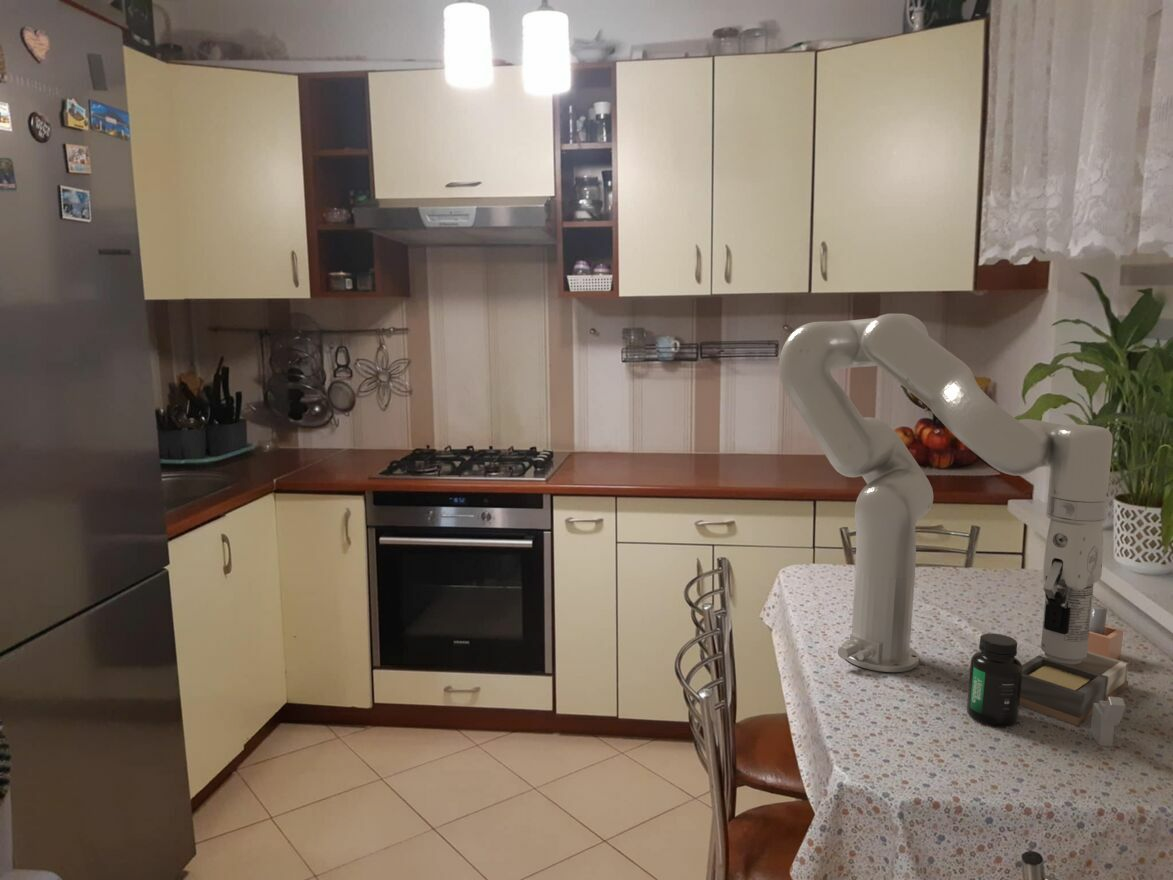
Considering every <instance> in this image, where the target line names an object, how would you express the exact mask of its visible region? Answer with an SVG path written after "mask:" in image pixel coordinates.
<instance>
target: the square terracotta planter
mask: <svg viewBox="0 0 1173 880" xmlns="http://www.w3.org/2000/svg"><path fill="white" fill-rule="evenodd" d="M1107 614H1108V609H1107V608H1106V607H1105V606H1101V605H1092V606H1091V616H1090V627H1089V637H1088V648H1087V651H1089V652H1093V653H1096V654H1100V655H1103V656H1107V657H1110V658H1114V659H1117V660H1120V659H1121V655H1122V648H1123V647H1122V646H1123V637H1124V629H1121V628H1117V627H1114V626H1113V627H1112V626H1109V625H1106V621H1107Z"/></svg>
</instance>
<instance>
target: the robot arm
mask: <svg viewBox="0 0 1173 880" xmlns="http://www.w3.org/2000/svg"><path fill="white" fill-rule="evenodd" d="M780 352H781V353H780V355H779V359H778V360H779V363H778V372H779V378H780V381H781V382H780V383H781V385H782V387H783V389H784V391H785V393H786V396H787V397H788V399H789V400H790V402H791V404H792V405H793V406H794V408H795V410H796V411H797V412H798V414H799V416H800V417H801V418H802V419H803V422H804V423H805V425H806V426H807V428H808V430H809V432H810V433H811V435H812V436H813V438H814V439H815V442H817V444H818V445H819V448H820V449H821V450H822V452H823V453H824V456H825V457H826V458H827V460H828V462H829V463H830V465H831V467H833V469H834V470H835V471H836V472H837V473H839V474H840V475H842V476H843V477H847V478H858V477H862V478H863V480H864V482H865V483H866V485H865V486H863V488H862V489H861V491H860V492H859V494H858V496H857V498H856V502H855V506H854V521H855V522H854V523H855V524H854V525H855V535H856V542H855V543H856V544H855V546H856V548H855V567H854V568H855V573H854V587H853V588H854V589H853V590H854V591H853V604H852V621H851V622H852V624H851V633H850V634H849V639H848V640H845V641H844V642H843V643H842V644H841V647H839V648H838V649H837V655H838V657H840V659H843V660H846V661H847V662H849V663H851V664H853V665H855V666H857V667H860V668H862V669H866V670H869V671H874V672H875V671H876V672H883V673H903V672H908V671H911V670H913V669H915V668H917V667H918V665H919V660H920V656H919V654H918V653H917V651H915V649H914V648H912V647H911V638H912V637H911V636H912V635H911V634H912V625H913V624H912V622H913V608H914V597H915V596H914V595H915V582H916V581H915V580H916V566H917V565H916V563H917V545H916V544H917V541H916V526H917V525H916V524H917V523H918V522H919V521H920V520H922V519H923V518H924V517H925V516H926V515H927V514H928V513H929V512H930V510H931V508H932V507H933V503H934V491H933V490H934V489H933V487H932V485H931V483H930V480H929V479H928V478H927V475H926V474H925V472H924V471H923V469H922V468H921V467H920V465H919V463H918V462H917V461H916V459H915V457H914V456H913V454H912V453H911V452H910V451H909V449H908V447H907V445H906V444H905V442H904V441H903V440H902V437H900V435H899V434H898V433H897V432H896V430H895V429H894V428H892V426H891V425H889V424H888V423H887V422H886V421H884V420H882V419H879V418H875V417H869V416H868V417H867V416H865V417H863V415H862V414H861V413H860V411H859V410H858V409H857V407H856V405H855V404H854V403H853V402H852V399H851V398H850V396H849V395H848V393H847V392H846V391H845V390H844V389H843V387H842V386H841V385H840V384H839V383H838V382H837V381H836V380H835V378H834V377H833V375H832V372H831V371H833V370H834V371H835V370H842V369H853V368H865V367H866V368H867V367H878V368H880V369H881V370H882V371H883V372H885V373H886V374H887V375H889V377H891V378H892V379H893V380H894V381H895V382H897V383H898V384H900V385H901V386H903V388H904V389H906V390H907V391H909V392H910V393H911V394H912V395H913V396H915V397H916V399H918V400H920V401H921V402H922V403H923V404H924V405H926V406H927V407H928V408H929V409H930V411H931V412H932V413H933V414H934V416H935V417H936V418H937V419H938V420H939V421H940V422H941V423H942V424H943V425H944V426H945V427H946V429H947V430H948V431H949V432H950V433H952V435H953V436H954V437H956V439H957V440H958V441H960V442H961V443H962V444H963V445H964V446H965V447H967V448H968V449H969V450H971V451H972V452H973V453H974V454H976V455H977V456H978V457H979V458H981V459H982V460H983V461H984V462H986V463H987V464H988V465H990V466H991V467H993V469H996V471H999V472H1001V473H1004V474H1007V475H1010V476H1024V475H1028V474H1030V473H1032V472H1034V471H1035V470H1036V469H1039V468H1043V467H1044V468H1047V467H1049V481H1048V490H1047V491H1048V492H1047V493H1048V494H1047V500H1046V501H1047V502H1046V503H1047V504H1046V517H1047V519H1050V521H1049V525H1048V530H1047V536H1046V537H1047V538H1046V542H1045V549H1044V557H1043V566H1042V567H1043V568H1042V580H1043V582H1044V584H1043V590H1044V594H1045V595H1044V596H1046V599H1045V598H1044V605H1045V604H1046V608H1045V620H1044V628H1045V629H1046V630H1050V631H1053V632H1057V633H1061V634H1067V633H1068V630H1069V620H1070V609H1071V608H1068V604H1069V599H1070V595H1071V591H1072V590H1073V591H1079V590H1082V589H1084V588H1086V587H1087V580H1088V577H1089V576H1090V575H1091V574H1094V584H1095V583H1097V582H1098V581H1099V580H1100V579H1101V578H1102V572H1103V571H1102V570H1103V557H1104V555H1103V553H1104V552H1103V551H1104V526H1103V524H1104V523H1106V515H1107V505H1108V496H1109V494H1108V493H1109V485H1110V474H1111V463H1112V455H1113V453H1112V452H1113V440H1114V439H1113V438H1114V437H1113V435H1112V432H1111V431H1110V429H1108V428H1106V427H1103V426H1098V425H1089V424H1060V423H1053V422H1049V421H1045V420H1038V419H1032V418H1023V419H1016V417H1014V416H1012V415H1011V414H1010V413H1009V412H1008V411H1006V410H1005V409H1003V407H1001V406H1000V405H999V404H997V403H996V402H995V401H993V399H992V398H990V396H989V395H987V393H985V391H983V389H982V388H981V387H980V385H979V384H978V382H977V380H976V378H975V376H974V374H973V373H974V372H973V371H972V370H971V368H970V367H969V366H968V365H967V364H966V363H965V362H964V361H963V360H961V359H960V358H958V357H957V356H956V355H954V354H953V353H952V352H950V351H949V350H948V349H946V348H945V347H944V346H942V345H941V344H940V343H939V342H937V341H936V340H934V339H933V338H932V337H930V335H929V332H928V330H927V327H926V325H925V324H924V323H923V322H922V321H921V320H920V319H919V318H917V317H916V316H914V315H911V314H909V313H885V314H882V315H879V316H877V317H873V318H862V319H850V320H840V321H838V320H837V321H836V320H835V321H832V320H831V321H812V322H808V323H805V324H803V325H801V326H799V327H797V328H795V330H794V331H792V333H790V335H789V336H788V338H787V339H786V340H785V342H784V344H783V347H782V349H781V351H780ZM1059 580H1060V581H1064V582H1066V585H1067V586H1062V585H1058V582H1059ZM1058 589H1059V590H1064V595H1063V597H1062V595H1061V593H1060V592H1058V591H1057V590H1058Z"/></svg>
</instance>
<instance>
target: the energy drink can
mask: <svg viewBox="0 0 1173 880" xmlns="http://www.w3.org/2000/svg"><path fill="white" fill-rule="evenodd" d="M1094 584H1095V583H1094V574H1091V575H1090V576H1089V577H1088V580H1087V587H1086V588H1084V589H1082V590H1079V591H1073V590H1072V591H1071V595H1070V599H1069V604H1068V608H1071V609H1070V620H1069V630H1068V633H1067V634H1061V633H1057V632H1053V631H1050V630H1046V629H1045V628H1044V620H1045V608H1046V604H1045V603H1044V609H1043V618H1042V619H1043V621H1042V630H1041V631H1042V633H1041V644H1040V649H1041V650H1042V652H1044V656H1046V657H1047V658H1049V659H1051V660H1053V661H1056V662H1060V663H1065V664H1078V663H1081V662H1082V659H1083V658H1085V657H1086V656H1087V648H1088V637H1089V627H1090V616H1091V606H1093V605H1092V604H1093V594H1094V593H1093V592H1094ZM1058 585H1062V586H1067V585H1066V582H1064V581H1060V580H1059V582H1058ZM1057 591H1058V592H1060V593H1061V595H1062V597H1063V595H1064V590H1059V589H1058V590H1057ZM1044 596H1045V598H1044V600H1045V599H1046V595H1044Z"/></svg>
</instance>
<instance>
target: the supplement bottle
mask: <svg viewBox="0 0 1173 880" xmlns="http://www.w3.org/2000/svg"><path fill="white" fill-rule="evenodd" d="M1017 648H1018V642H1017V640H1016V639H1015V638H1013V637H1011V636H1009V635H1005V634H1001V633H993V632H991V633H990V632H989V633H983V634H981V636H980V638H979V643H978V649H979V650H978V651H976V652H975V653H974V654H972V656H971V658H970V666H969V675H968V685H967V687H968V688H967V699H966V700H967V701H966V711H967V714H968V715H969V717H970V718H972V719H973V720H974V721H976V722H978V723H981V724H983V725H986V726H991V727H995V728H996V727H997V728H1008V727H1013V726H1014V725H1016V723H1017V722H1018V720H1019V713H1020V694H1021V684H1022V673H1023V667H1022V665H1023V664H1022V663H1021V660H1019V659H1018V658H1017V657H1016V656H1017V654H1018V649H1017Z"/></svg>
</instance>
